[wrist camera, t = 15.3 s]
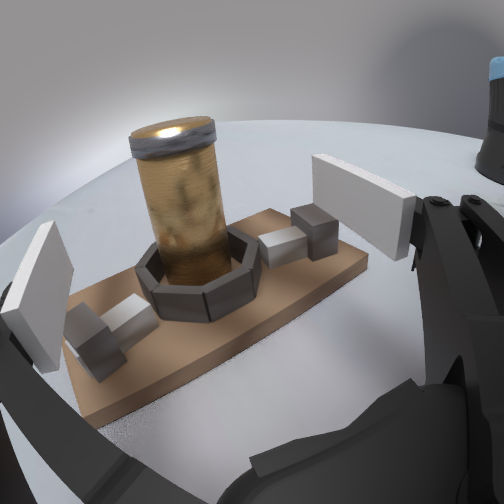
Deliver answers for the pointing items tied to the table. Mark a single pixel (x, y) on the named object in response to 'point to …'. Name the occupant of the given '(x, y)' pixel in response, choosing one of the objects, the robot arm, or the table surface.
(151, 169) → the brass cylinder
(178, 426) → the table surface
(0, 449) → the robot arm
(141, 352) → the base
